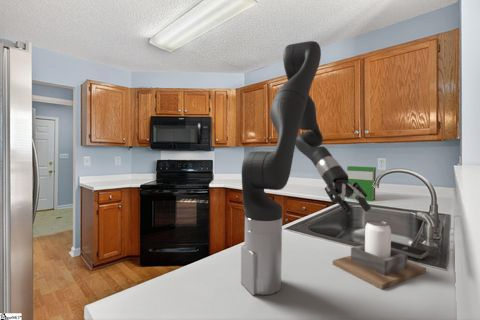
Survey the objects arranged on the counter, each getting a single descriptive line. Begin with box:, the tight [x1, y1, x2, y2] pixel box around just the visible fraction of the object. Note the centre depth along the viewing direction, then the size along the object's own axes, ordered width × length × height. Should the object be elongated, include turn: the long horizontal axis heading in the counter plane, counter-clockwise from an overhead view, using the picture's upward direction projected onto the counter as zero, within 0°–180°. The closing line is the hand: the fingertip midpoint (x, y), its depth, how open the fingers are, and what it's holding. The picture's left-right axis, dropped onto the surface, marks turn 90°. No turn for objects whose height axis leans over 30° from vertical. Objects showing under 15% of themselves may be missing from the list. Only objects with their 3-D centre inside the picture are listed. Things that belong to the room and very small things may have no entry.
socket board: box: [332, 244, 427, 290], centre depth 70 cm, size 20×15×5 cm
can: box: [364, 219, 392, 259], centre depth 70 cm, size 6×6×12 cm
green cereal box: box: [346, 166, 377, 202], centre depth 181 cm, size 18×7×24 cm, turn 47°
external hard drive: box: [391, 240, 429, 261], centre depth 82 cm, size 7×11×2 cm, turn 37°
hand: (359, 211), depth 76 cm, fingers open, 8 cm apart
